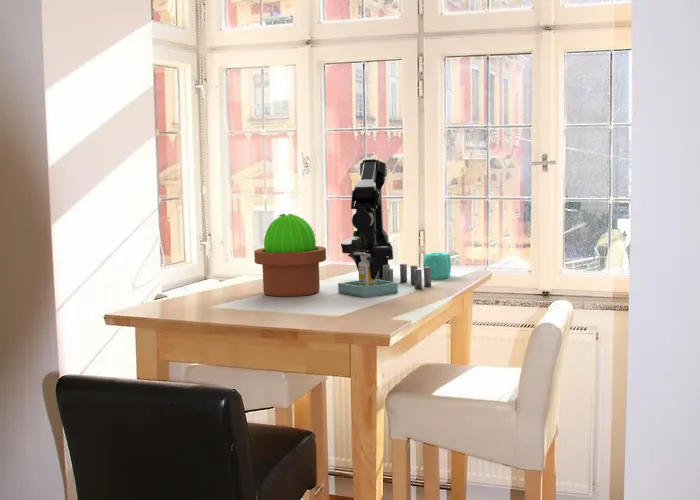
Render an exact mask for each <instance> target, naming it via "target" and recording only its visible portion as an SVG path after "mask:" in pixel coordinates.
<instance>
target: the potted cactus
mask: <svg viewBox="0 0 700 500" xmlns="http://www.w3.org/2000/svg"><path fill="white" fill-rule="evenodd" d="M315 230H316V229H315ZM315 230H314V229H313V227H311V225H310V224H309V222H308V221H306V219H305V218H304V217H300V216H298V215H297V214H294V213H288V214H287V215H286V214H285V213H281V214H280V215H279V214H278V216H277V218H276V219H275V217H274V220H272V222H271V223H269V226H268V227H267V230H266V231H265V235H264V239H262V242H263V247H261V248H258V249H255V250H254V251H253V252H254V263H255V264H256V265H262V266H261V267H262V285H263V286H262V287H263V288H262V289H263V294H264V295H266V296H269V297H270V296H271V297H279V298H280V297H282V298H283V297H285V298H287V297H291V298H292V297H302V296H310V295H314V294H316V293H318V292H319V291H320V290H321V289H320V287H321V285H320V263H322V262H325V261H326V260H327V248H326V247H325V246H321V245H317V244H316V243H317V240H316V235H317V234H316V233H314V232H315Z"/></svg>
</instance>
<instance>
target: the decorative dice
mask: <svg viewBox="0 0 700 500" xmlns="http://www.w3.org/2000/svg"><path fill="white" fill-rule="evenodd" d="M424 267H431V280H438V279H439V280H442V279H441V278H444V279H449V278H450V276H451V272H452V270H451V269H452V260H451V255H450V253H448V252H428V253H425V254H424V258H423V268H424Z"/></svg>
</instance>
